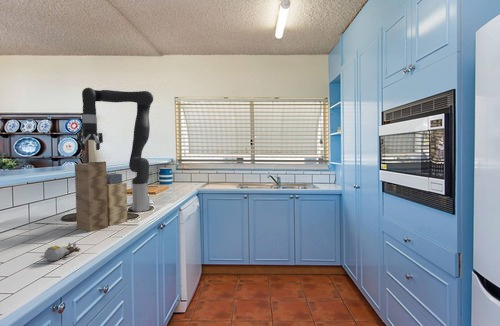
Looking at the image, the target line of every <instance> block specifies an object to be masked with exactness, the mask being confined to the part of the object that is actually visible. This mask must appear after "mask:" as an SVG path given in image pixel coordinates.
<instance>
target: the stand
mask: <svg viewBox="0 0 500 326" xmlns="http://www.w3.org/2000/svg"><path fill="white" fill-rule="evenodd" d="M106 173H107V161H90V162H89V161H88V162H87V163H75V164H74V181H75V183H74V184H75V188H74V189H75V210H76V211H75V215H76V218H75V219H76V229H79V230H82V231H85V232H89V233H91V232H94V231H95V232H96V231H101V230H104V229H107V228H109V227H108V226H109V225H108V218H107V178H106Z"/></svg>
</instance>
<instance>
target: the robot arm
mask: <svg viewBox="0 0 500 326" xmlns="http://www.w3.org/2000/svg"><path fill="white" fill-rule="evenodd" d="M81 98H82V117H81V118H82V119H81V120H82V132H80V131H79V132H77V133H76V143H78V144H80V150H81V151H86V144H85V143H86V142H87V141H94V143H95V151H99V150H100V149H101V144H103V142H104V140H103V139H104V137H103V133H102V132H98V118H97V107H96V102H105V103H106V102H107V103H136V109H137V110H136V117H135V122H134V128H133V138H132V139H133V140H132V144H131V145H132V147H131V153H130V157H129V163H128V165H129V166H128V167H129V169H130V171H131V172H133V173H136V175H135V177H133V178H132V180H131V187H132V188H131V191H132V193H131V196H132V211H133V212H135V213H136V212H137V213H138V212H139V213H141V212H146V211H148V210H150V194H149V189H148V187H149V185H148V183H149V182H148V181H149V177H150V163H149V160H148V159H147V158H145V157H144V158H143V157H142V153H143V150H144V148H145V147H146V144H147V142H148V140H149V137H150V127H151V126H150V118H149V115H150V110H151V109H150V108H151V105H152V104H153V101H154V95H153V94H152V92H150V91H148V90H140V91H121V90H111V89H110V90H109V89H101V90H100V89H99V90H95V89H93V88H91V87H85V88H84V89H83V90H82V92H81ZM82 136H83V137H82Z"/></svg>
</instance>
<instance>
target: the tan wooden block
mask: <svg viewBox="0 0 500 326" xmlns="http://www.w3.org/2000/svg"><path fill="white" fill-rule="evenodd" d="M127 193H128V189H127V182H122V183H119V184H111V185H109V184H107V218H108V226H110V227H112V226H116V225H118V224H124V223H128V195H127Z"/></svg>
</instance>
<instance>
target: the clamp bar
mask: <svg viewBox="0 0 500 326" xmlns="http://www.w3.org/2000/svg"><path fill="white" fill-rule="evenodd" d="M106 178H107V184H109V185H111V184H119V183H123V174H122V173H116V172H108V173H107V172H106Z"/></svg>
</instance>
